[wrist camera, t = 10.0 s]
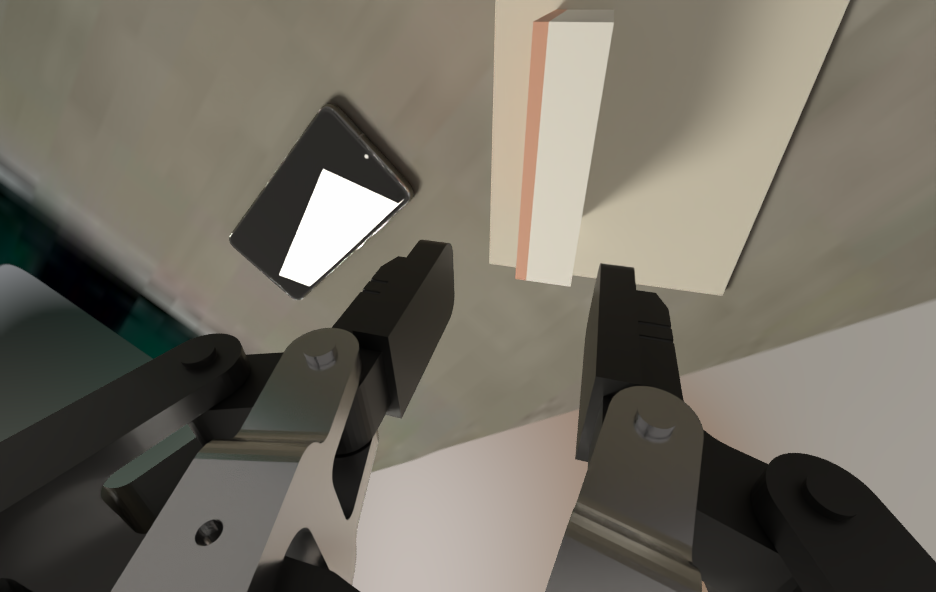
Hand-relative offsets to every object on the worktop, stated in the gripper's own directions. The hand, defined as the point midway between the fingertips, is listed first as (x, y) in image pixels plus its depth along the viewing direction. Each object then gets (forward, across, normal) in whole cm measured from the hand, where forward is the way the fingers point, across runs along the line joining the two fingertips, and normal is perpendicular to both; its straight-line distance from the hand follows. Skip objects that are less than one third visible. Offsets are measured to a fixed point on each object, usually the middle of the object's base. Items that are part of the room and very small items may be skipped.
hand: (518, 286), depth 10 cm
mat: (+15, -3, 0) cm, 15 cm away
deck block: (+15, 0, 0) cm, 15 cm away
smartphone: (+16, +17, +8) cm, 24 cm away
